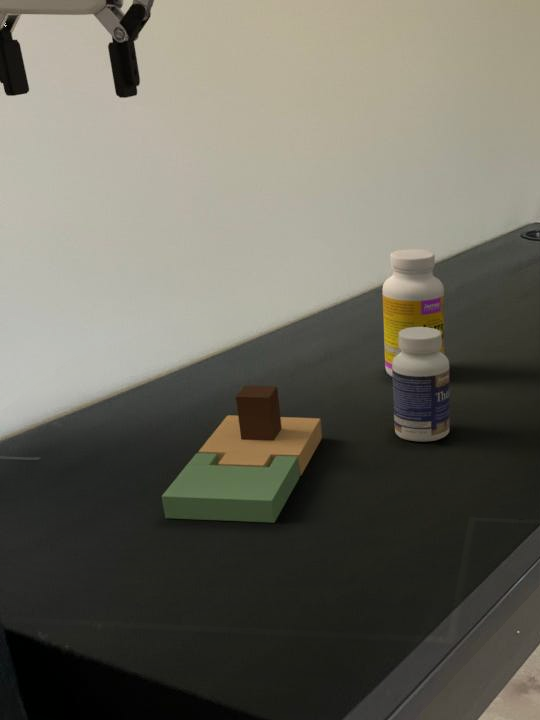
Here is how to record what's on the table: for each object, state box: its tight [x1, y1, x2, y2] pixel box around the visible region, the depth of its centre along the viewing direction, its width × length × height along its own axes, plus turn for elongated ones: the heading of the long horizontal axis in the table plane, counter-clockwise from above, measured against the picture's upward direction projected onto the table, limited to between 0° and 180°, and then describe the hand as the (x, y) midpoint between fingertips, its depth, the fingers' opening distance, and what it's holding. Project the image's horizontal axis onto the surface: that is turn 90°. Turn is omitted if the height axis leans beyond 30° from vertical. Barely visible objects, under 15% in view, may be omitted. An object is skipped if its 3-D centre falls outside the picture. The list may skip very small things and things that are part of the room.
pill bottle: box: [392, 327, 451, 443], centre depth 93 cm, size 5×5×10 cm
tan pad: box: [198, 385, 323, 476], centre depth 89 cm, size 9×12×6 cm
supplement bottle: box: [382, 248, 445, 378], centre depth 108 cm, size 7×7×13 cm
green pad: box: [161, 452, 301, 524], centre depth 83 cm, size 9×9×2 cm
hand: (72, 95), depth 85 cm, fingers open, 9 cm apart
